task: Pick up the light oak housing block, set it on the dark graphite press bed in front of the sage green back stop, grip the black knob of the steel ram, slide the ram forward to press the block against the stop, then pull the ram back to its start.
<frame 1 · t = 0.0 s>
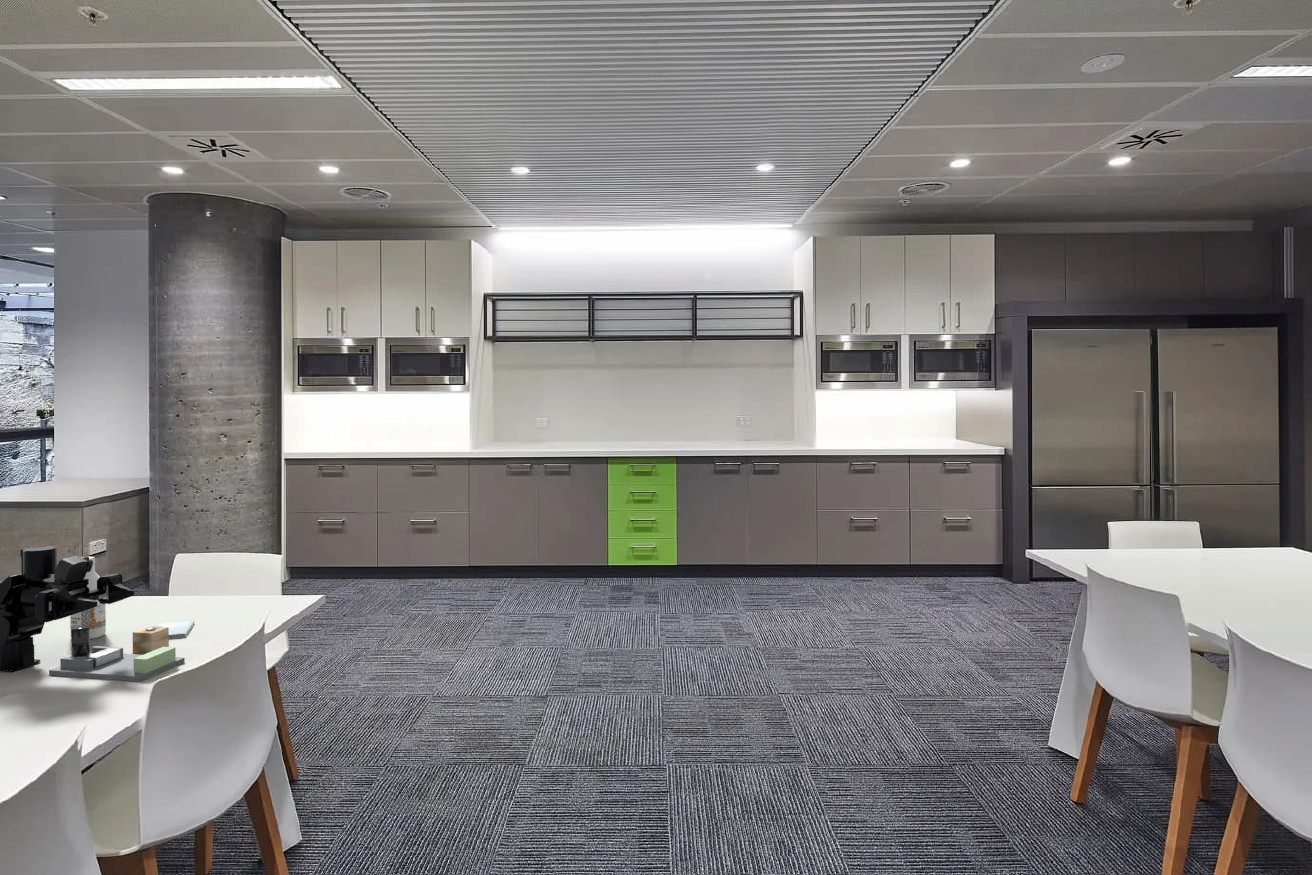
hand: (115, 598, 156), 17 cm above the table, tool horizontal, fingers open, 9 cm apart
ram: (91, 644, 161), point 5 cm above the table, slide at 0.0 cm
bath foam: (88, 637, 181), on the table
press bed: (118, 668, 160), on the table
housing: (150, 650, 172), on the table
hard drive: (171, 634, 186), on the table
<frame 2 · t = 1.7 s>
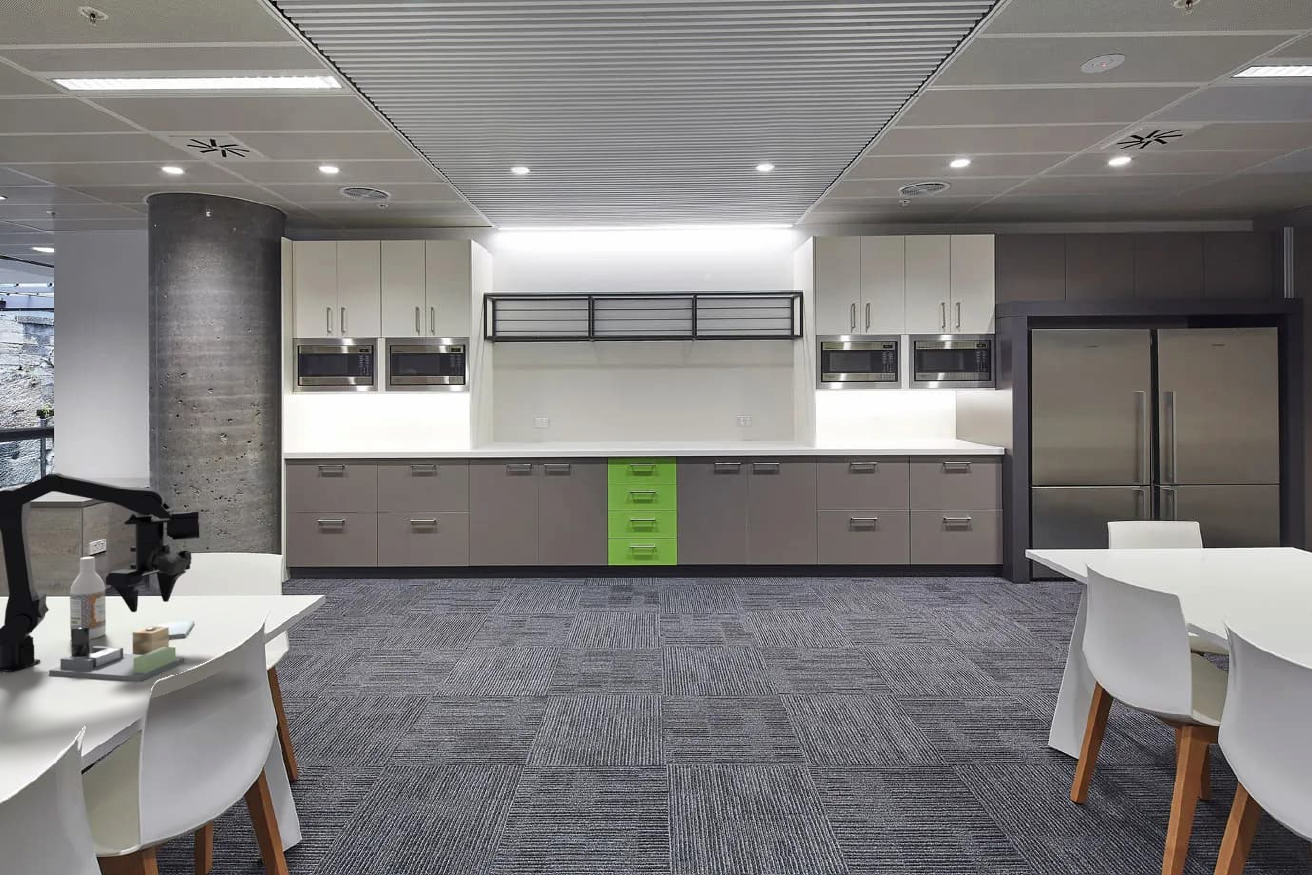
hand: (150, 606, 172), 10 cm above the table, tool pointing down, fingers open, 9 cm apart
nothing on the table moved.
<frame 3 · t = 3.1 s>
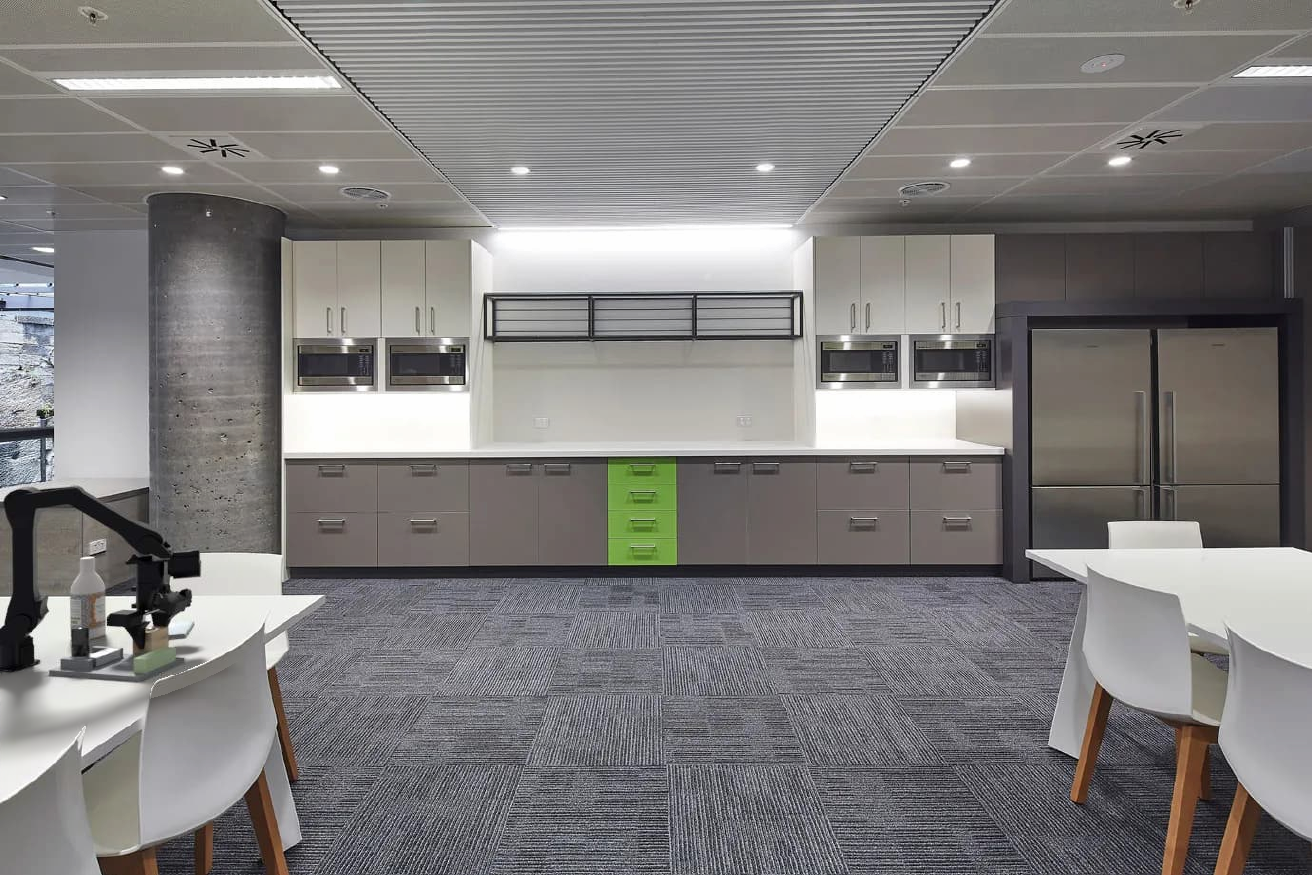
hand: (150, 645, 172), 1 cm above the table, tool pointing down, fingers closed on housing, 5 cm apart
housing: (150, 649, 172), on the table, touching gripper
everything else where it was.
when the fingers open (3 cm above the table, at t = 7.1 s): housing drops 1 cm, resting on press bed.
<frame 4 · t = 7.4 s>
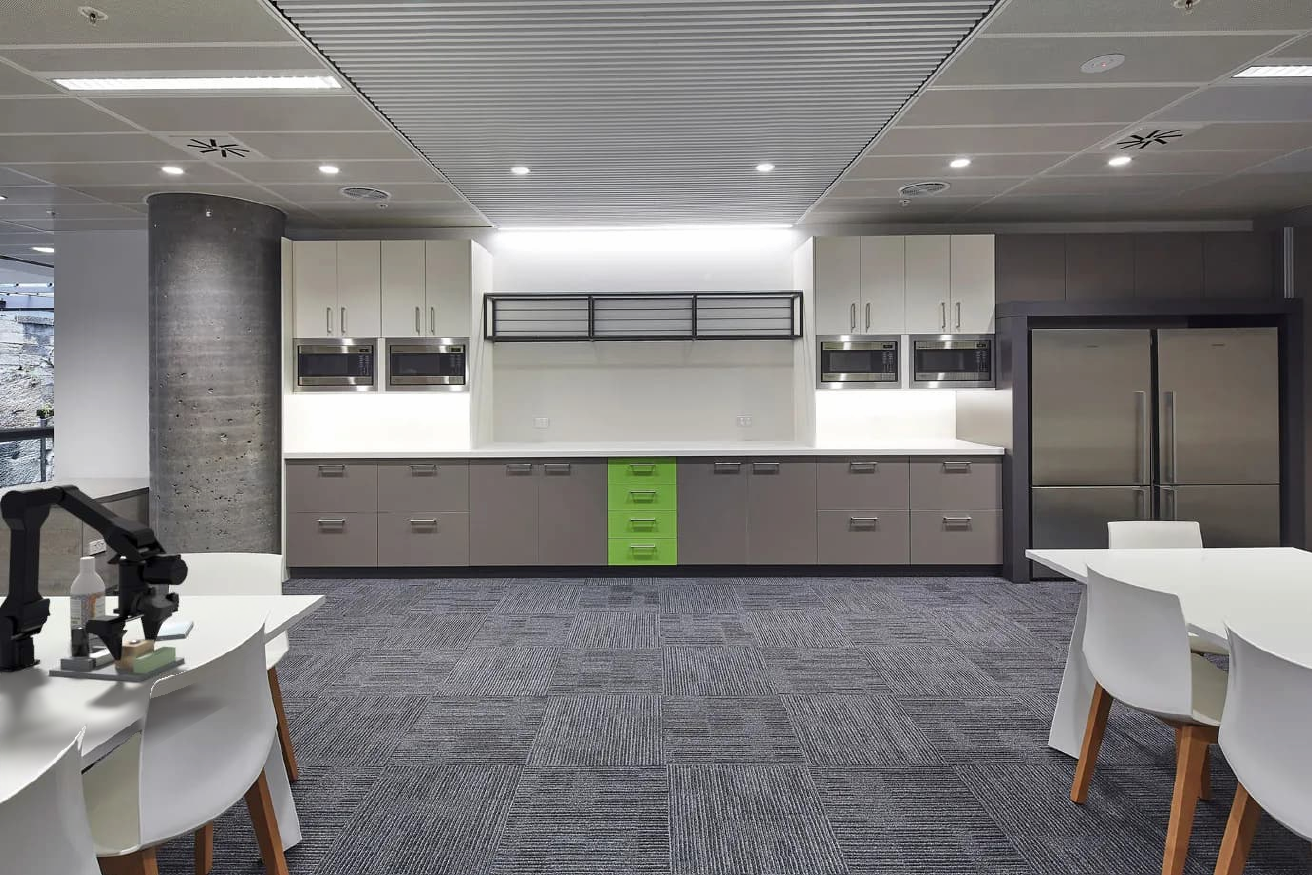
hand: (134, 653, 160), 3 cm above the table, tool pointing down, fingers open, 8 cm apart
housing: (134, 664, 160), point 1 cm above the table, touching press bed
everything else where it was.
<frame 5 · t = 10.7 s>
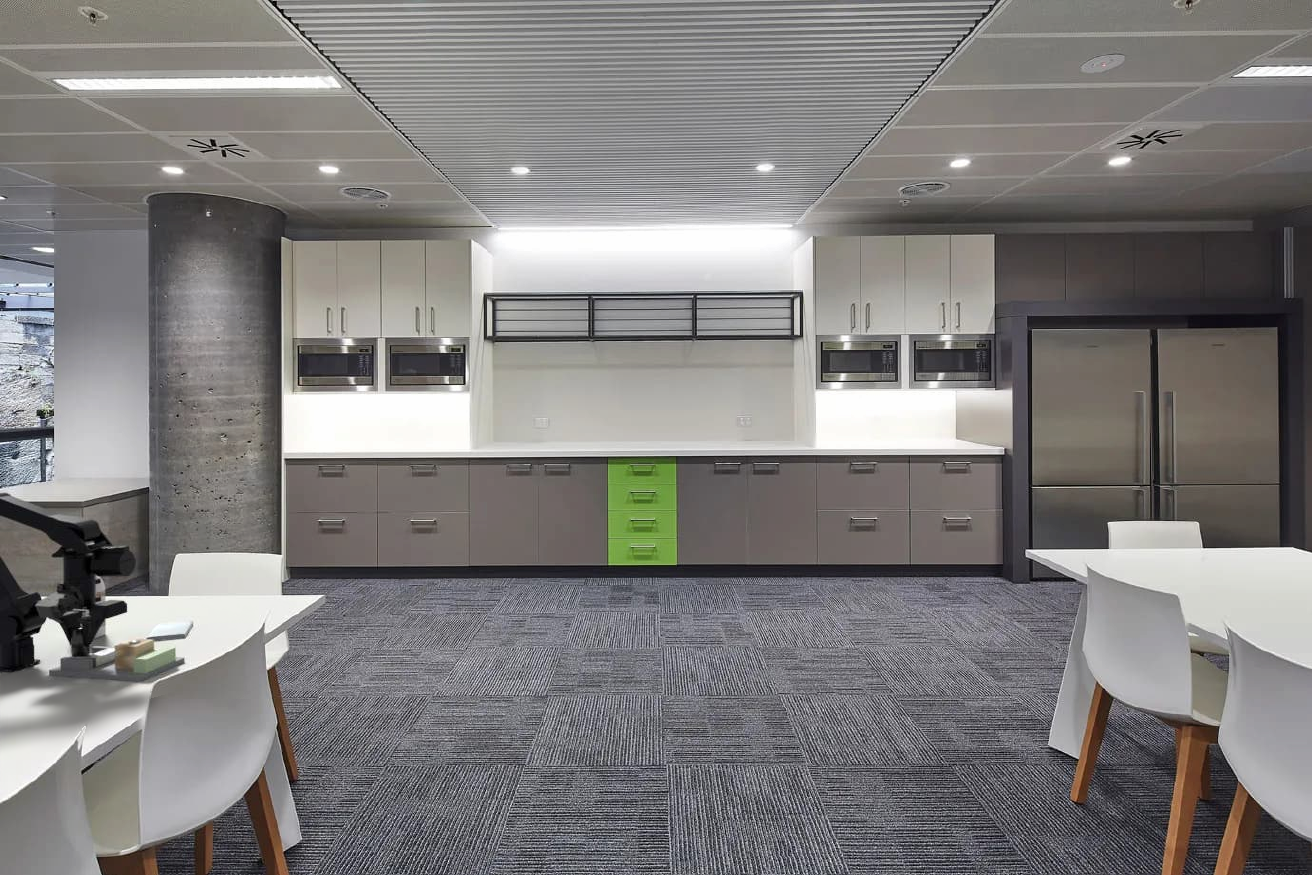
hand: (80, 645, 161), 5 cm above the table, tool pointing down, fingers closed on ram, 3 cm apart
ram: (91, 644, 161), point 5 cm above the table, slide at 0.0 cm, touching gripper
everything else where it was.
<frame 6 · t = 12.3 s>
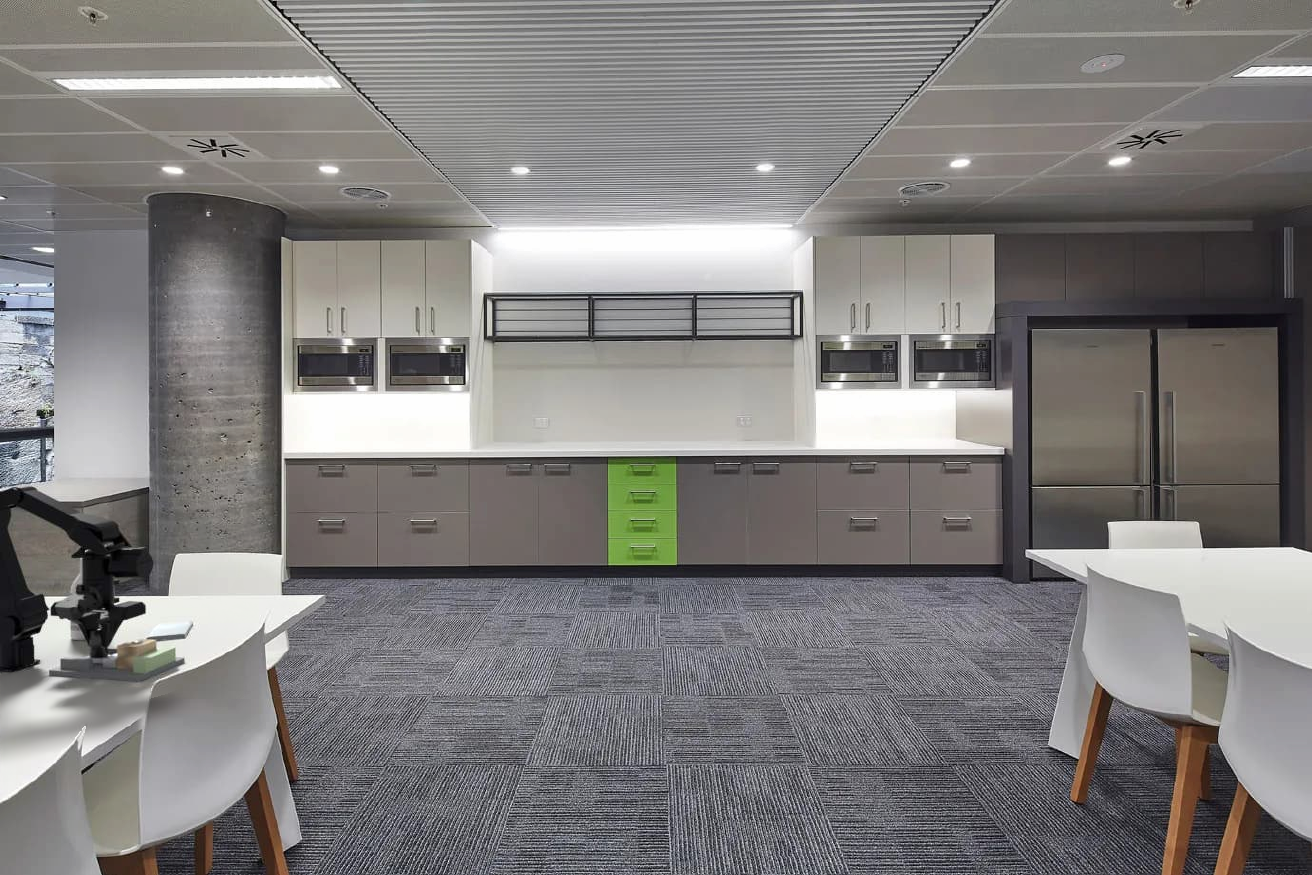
hand: (98, 646, 161), 5 cm above the table, tool pointing down, fingers closed on ram, 3 cm apart
ram: (109, 646, 160), point 5 cm above the table, slide at 4.6 cm, touching gripper, housing
housing: (137, 665, 160), point 1 cm above the table, touching press bed, ram
everything else where it was.
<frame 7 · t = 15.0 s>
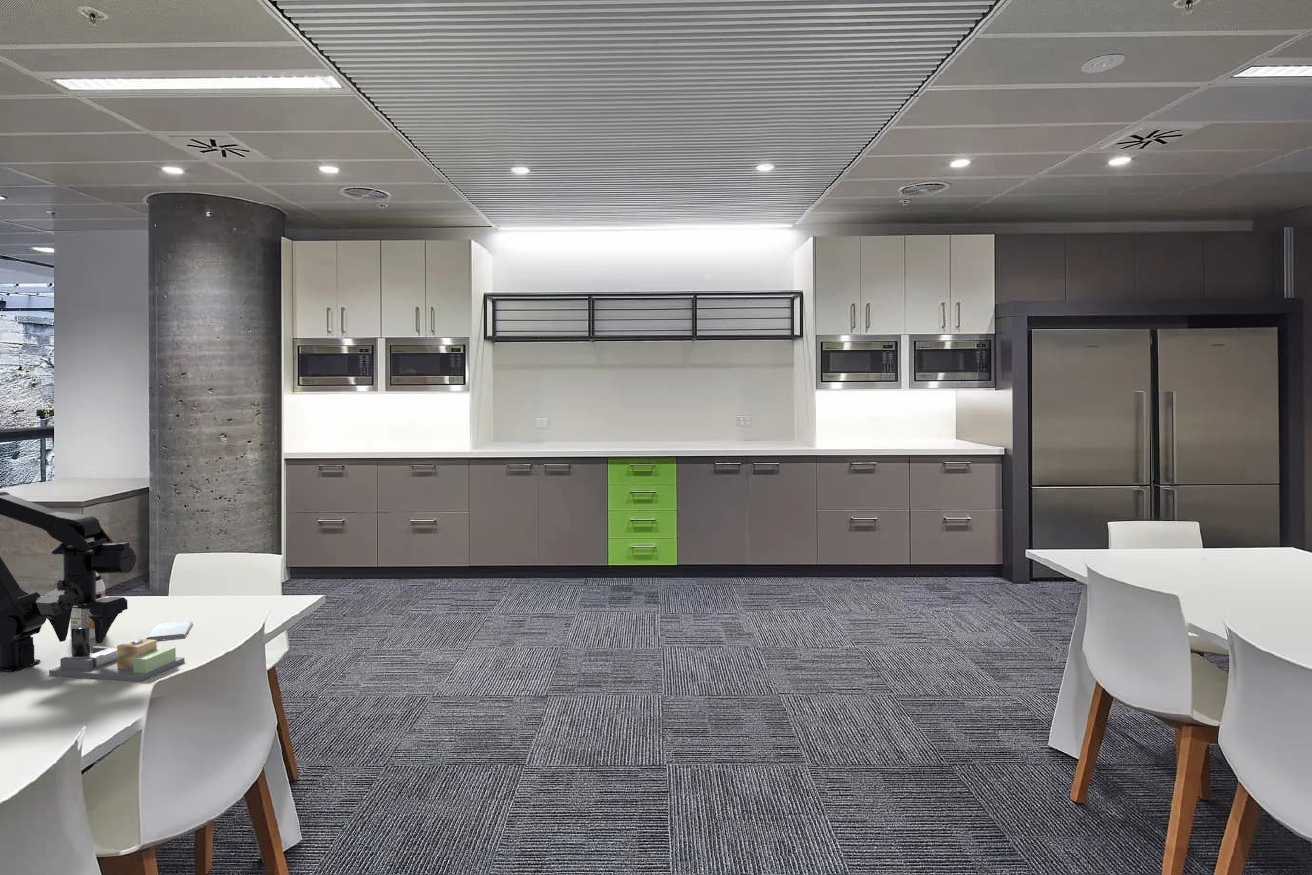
hand: (80, 642, 161), 5 cm above the table, tool pointing down, fingers open, 9 cm apart
ram: (91, 644, 161), point 5 cm above the table, slide at 0.1 cm
housing: (137, 665, 160), point 1 cm above the table, touching press bed
everything else where it was.
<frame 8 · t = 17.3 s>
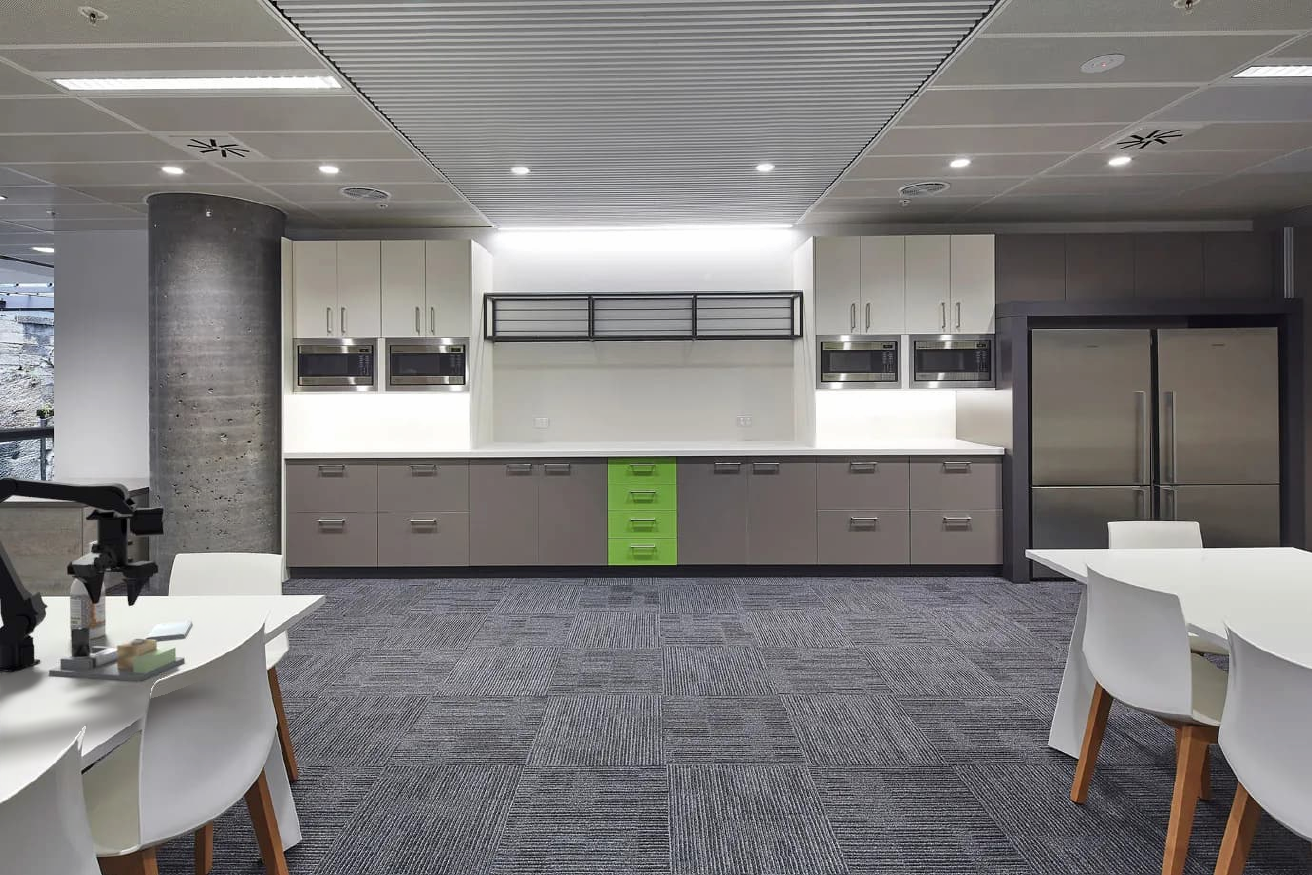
hand: (113, 604, 168), 12 cm above the table, tool pointing down, fingers open, 9 cm apart
nothing on the table moved.
at the end: housing 0.3 cm from the target spot, point 1.0 cm above the table; ram slide at 0.1 cm; housing tilted 0° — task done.
